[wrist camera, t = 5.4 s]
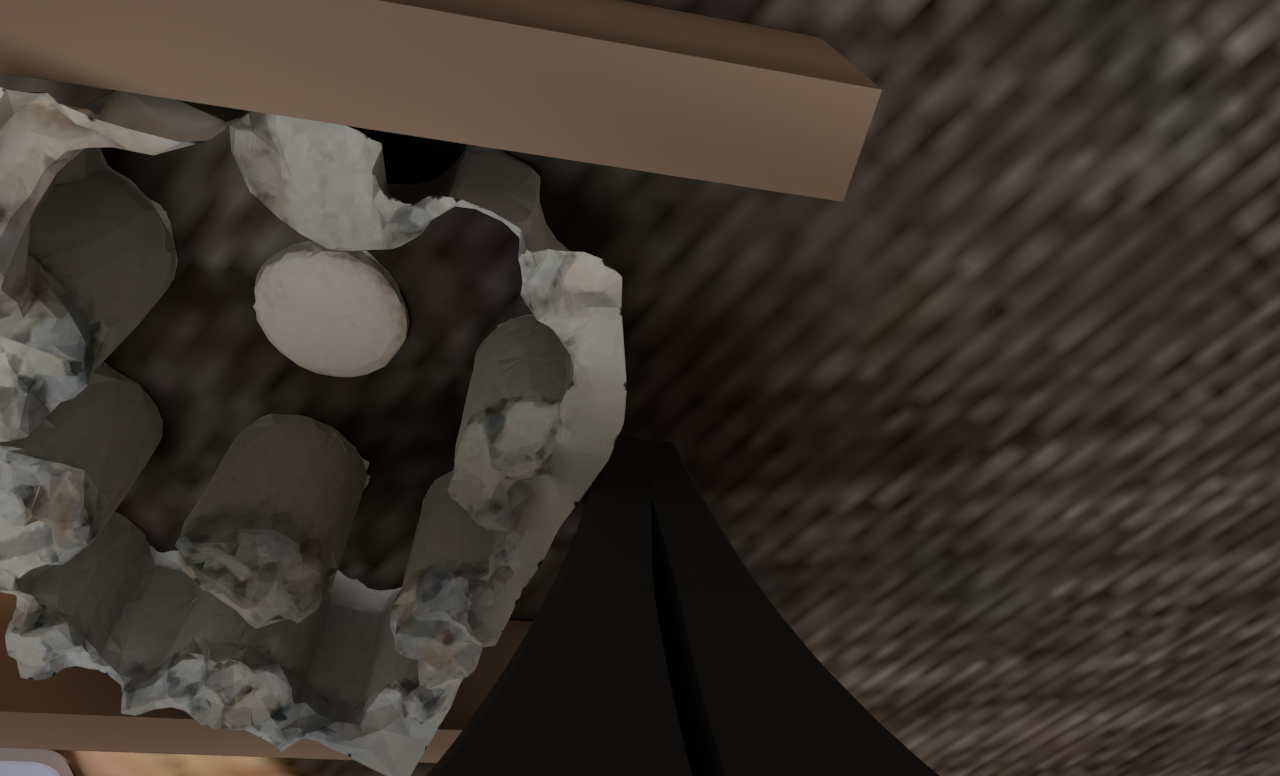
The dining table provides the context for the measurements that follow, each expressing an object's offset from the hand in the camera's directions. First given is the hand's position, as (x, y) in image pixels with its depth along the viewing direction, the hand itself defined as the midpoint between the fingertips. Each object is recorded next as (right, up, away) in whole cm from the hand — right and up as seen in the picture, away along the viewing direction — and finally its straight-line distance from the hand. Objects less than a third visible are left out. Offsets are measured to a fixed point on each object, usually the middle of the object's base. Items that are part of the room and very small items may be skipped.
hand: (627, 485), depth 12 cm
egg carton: (-5, +2, +1) cm, 5 cm away
